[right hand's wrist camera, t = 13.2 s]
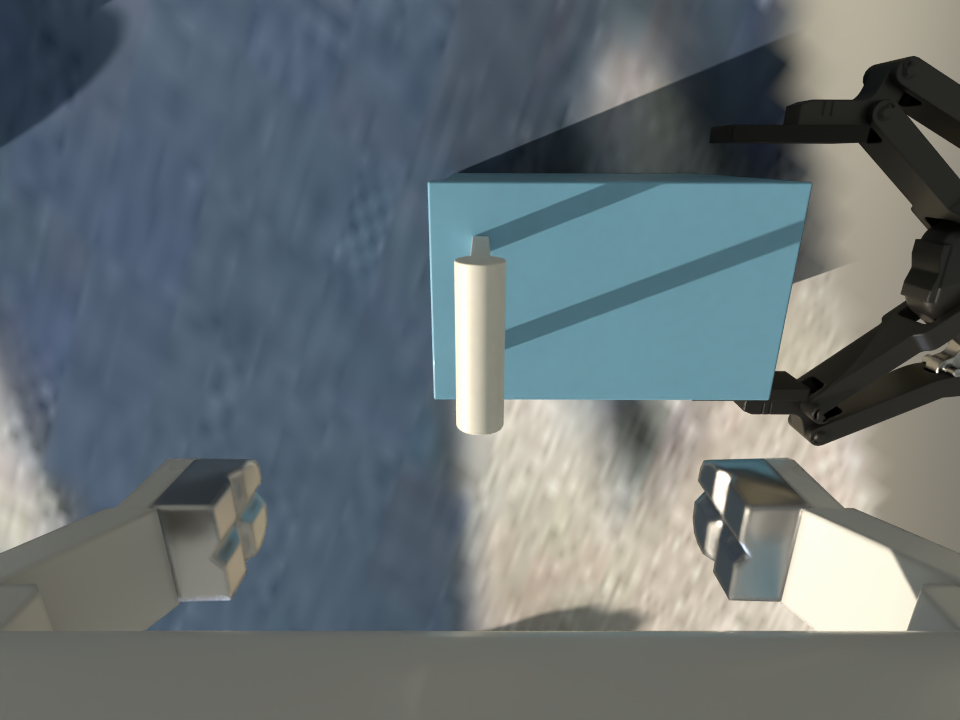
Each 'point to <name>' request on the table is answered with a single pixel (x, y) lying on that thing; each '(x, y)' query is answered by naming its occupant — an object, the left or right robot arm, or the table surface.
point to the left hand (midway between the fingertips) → (700, 269)
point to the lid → (608, 290)
